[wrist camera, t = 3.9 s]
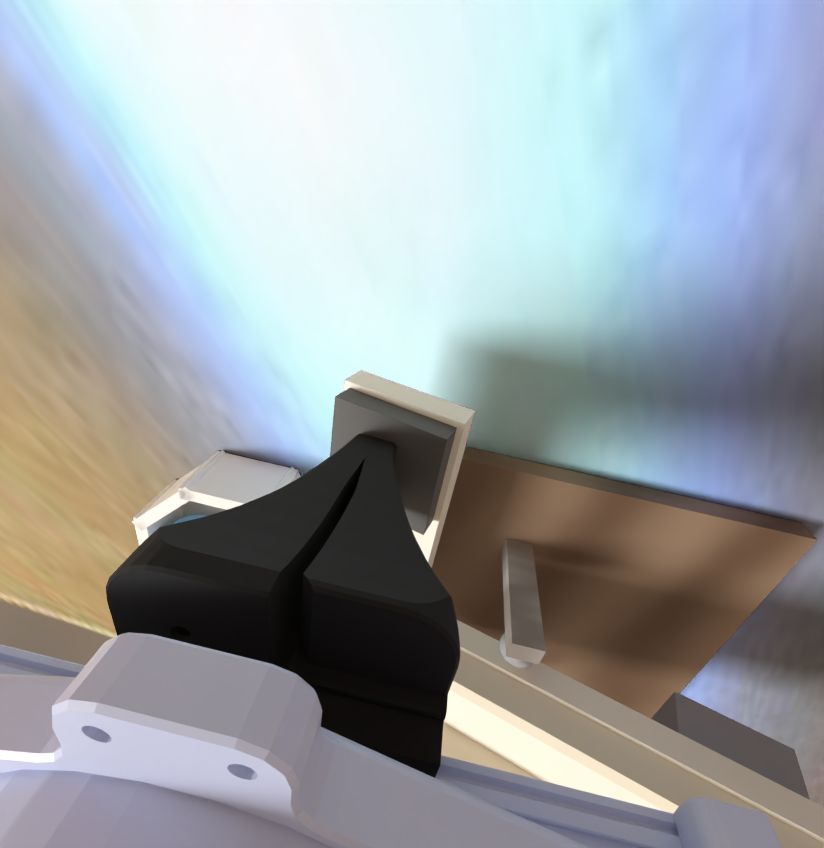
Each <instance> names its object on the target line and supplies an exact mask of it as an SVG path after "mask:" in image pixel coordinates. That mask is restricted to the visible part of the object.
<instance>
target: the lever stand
mask: <svg viewBox="0 0 824 848" xmlns="http://www.w3.org/2000/svg"><path fill="white" fill-rule="evenodd" d="M816 541H817V539H816V538H815V537H814V536H813V535H812V534H811V533H810V531H809V530H808V529H807V528H806V527H805V526H804V525H803V524H802V523H800V522H795V521H791V520H787V519H782V518H778V517H773V516H769V515H765V514H760V513H756V512H751V511H747V510H743V509H738V508H734V507H729V506H725V505H721V504H716V503H712V502H707V501H703V500H699V499H694V498H690V497H685V496H681V495H676V494H672V493H668V492H663V491H659V490H654V489H650V488H646V487H641V486H637V485H632V484H628V483H624V482H619V481H615V480H610V479H606V478H602V477H597V476H593V475H588V474H584V473H580V472H575V471H571V470H566V469H562V468H558V467H553V466H549V465H544V464H540V463H535V462H531V461H527V460H522V459H518V458H513V457H509V456H505V455H500V454H496V453H491V452H487V451H483V450H478V449H474V448H469V447H465V450H464V454H463V457H462V461H461V464H460V468H459V472H458V475H457V479H456V482H455V486H454V490H453V493H452V497H451V500H450V504H449V508H448V511H447V515H446V518H445V522H444V526H443V529H442V533H441V536H440V540H439V544H438V547H437V551H436V554H435V558H434V562H433V565H432V570H433V571H434V573H435V575H436V576H437V578H438V579H439V581H440V582H441V584H442V585H443V586H444V588H445V589H446V591H447V592H448V593H449V595H450V596H451V597H452V600H453V605H454V609H455V614H456V619H457V620H459V621H460V622H462V623H464V624H466V625H468V626H470V627H472V628H474V629H476V630H478V631H480V632H482V633H484V634H486V635H488V636H490V637H492V638H494V639H496V640H498V641H500V639H501V637H502V635H503V634H504V633H505V648H506V657H510V658H514V659H518V660H522V661H526V662H530V663H534V664H538V665H539V663H540V662H541V663H543V664H545V665H547V666H549V667H551V668H552V669H554V670H556V671H558V672H560V673H562V674H564V675H566V676H568V677H570V678H572V679H574V680H576V681H578V682H580V683H582V684H584V685H586V686H588V687H590V688H592V689H594V690H596V691H597V692H599V693H601V694H603V695H605V696H607V697H609V698H611V699H613V700H615V701H617V702H619V703H621V704H623V705H625V706H627V707H629V708H631V709H633V710H635V711H637V712H639V713H641V714H642V715H644V716H646V717H648V718H650V719H651V718H652V717H653V716H654V714H655V713H656V712H657V711H658V710H659V709H660V708H661V707H662V705H663V704H664V703H665V702H666V701H667V700H668V699H669V697H670V696H671V695H672V694H673V693H674V692H677V693H680V692H681V691H682V690H683V689H684V688H685V687H686V686H687V685H688V683H689V682H690V681H691V680H692V679H693V678H694V677H695V676H696V675H697V673H698V672H699V671H700V670H701V669H702V668H703V667H704V666H705V664H706V663H707V662H708V661H709V660H710V659H711V658H712V657H713V656H714V654H715V653H716V652H717V651H718V650H719V649H720V648H721V647H722V646H723V644H724V643H725V642H726V641H727V640H728V639H729V638H730V637H731V635H732V634H733V633H734V632H735V631H736V630H737V629H738V628H739V627H740V625H741V624H742V623H743V622H744V621H745V620H746V619H747V618H748V617H749V615H750V614H751V613H752V612H753V611H754V610H755V609H756V608H757V607H758V605H759V604H760V603H761V602H762V601H763V600H764V599H765V598H766V596H767V595H768V594H769V593H770V592H771V591H772V590H773V589H774V588H775V586H776V585H777V584H778V583H779V582H780V581H781V580H782V579H783V578H784V576H785V575H786V574H787V573H788V572H789V571H790V570H791V569H792V567H793V566H794V565H795V564H796V563H797V562H798V561H799V560H800V559H801V557H802V556H803V555H804V554H805V553H806V552H807V551H808V550H809V549H810V547H811V546H812V545H813V544H814V543H815V542H816Z"/></svg>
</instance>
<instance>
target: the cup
mask: <svg viewBox="0 0 824 848" xmlns="http://www.w3.org/2000/svg"><path fill="white" fill-rule="evenodd" d="M299 477H301V475H300V474H299V470H297V469H294V468H293V466H292V467H290V468H288V467H284V466H280V465H275V464H271V463H267V462H263V461H258V460H254V459H250V458H246V457H241V456H237V455H233V454H229V453H225V452H224V451H223V450H222V451H221V452H220V451H216V452H215V453H214V454H213V455H212V456H211V457H210V458H209V459H208V460H207V461H206V462H204V463H202V464H201V465H199V466H198V467H196V468H195V469H193V470H192V471H190V472H189V473H187V474H186V475H184V476H183V477H181V478H180V479H178V480H176V479H174V480H173V481H172V482H171V483H170V484H168V485H167V486H166V487H165V488H164V489H163V490H162V491H161V492H160V493H159V494H158V495H157V496H156V497H155V498H153V499H152V500H151V501H150V502H149V503H148V504H147V505H146V506H145V507H144V508H143V509H142V510H141V511H139V512H138V513H137V514H136V515H135V516H134V517H133V519H134V520H133V521H132V523H133V524H134V525H135V528H136V533H137V538H138V542H139V546H140V545H141V544H142V543H143V542H144V541H145V540H146V539H147V538H148V537H149V536H150V535H151V534H152V533H154V532H155V531H156V530H157V529H158V528H159V527H162V526H167V525H171V524H173V523H174V522H175V521H177V520H178V519H180V518H183V517H185V516H189V515H194V514H202V515H212V514H215V513H218V512H222V511H225V510H228V509H231V508H234V507H237V506H240V505H243V504H245V503H248V502H250V501H252V500H255V499H257V498H260V497H262V496H264V495H267V494H269V493H272V492H274V491H276V490H278V489H280V488H282V487H284V486H285V485H287V484H289V483H291V482H293V481H294V480H296V479H298V478H299Z"/></svg>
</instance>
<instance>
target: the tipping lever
mask: <svg viewBox="0 0 824 848" xmlns="http://www.w3.org/2000/svg"><path fill="white" fill-rule="evenodd" d="M474 414H475V411H474V410H471V409H469V408H466V407H463V406H460V405H457V404H455V403H452V402H449V401H446V400H443V399H440V398H438V397H435V396H432V395H429V394H426V393H424V392H421V391H418V390H415V389H412V388H410V387H407V386H404V385H401V384H398V383H395V382H393V381H390V380H387V379H384V378H381V377H379V376H376V375H373V374H370V373H367V372H365V371H362V370H361V371H359V372H358V373H356V374H354V375H352V376H351V377H349V378H347V379H346V380H345V383H344V392H342V393H340V394H339V395H337V396H336V397H335V406H334V417H333V429H332V441H331V452H330V456H332V455H333V454H334V453H336V452H337V451H338V450H339V449H341V448H342V447H343V446H344V445H346V444H347V443H348V442H349V441H350V440H351V439H353V438H354V437H355V436H356V435H358V434H364V435H369V436H373V437H377V438H380V439H383V440H387V441H390V442H393V443H395V445H396V446H397V451H396V472H397V478H398V485H399V490H400V494H401V498H402V502H403V506H404V509H405V512H406V515H407V518H408V521H409V524H410V526H411V529H412V531H413V534H414V536H415V538H416V540H417V542H418V544H419V546H420V548H421V550H422V552H423V554H424V556H425V558H426V560H427V562H428V563H429V565H430V567H431V568H432V565H433V562H434V558H435V554H436V551H437V547H438V544H439V540H440V536H441V533H442V529H443V526H444V522H445V518H446V515H447V511H448V508H449V504H450V500H451V497H452V493H453V490H454V486H455V482H456V479H457V475H458V472H459V468H460V464H461V461H462V457H463V454H464V450H465V446H466V443H467V439H468V435H469V432H470V428H471V425H472V421H473V417H474ZM457 624H458V630H459V639H460V661H459V667H458V669H457V672H456V674H455V677H454V680H453V682H452V685H451V687H450V690H449V693H448V700H447V713H446V717H445V720H444V723H443V737H442V751H441V755H442V756H446V757H450V758H454V759H458V760H462V761H466V762H470V763H474V764H478V765H482V766H486V767H490V768H494V769H498V770H502V771H506V772H510V773H514V774H518V775H522V776H526V777H530V778H534V779H538V780H542V781H545V782H549V783H553V784H557V785H561V786H565V787H569V788H573V789H577V790H581V791H585V792H589V793H593V794H597V795H601V796H605V797H609V798H613V799H617V800H621V801H625V802H629V803H633V804H637V805H641V806H645V807H649V808H653V809H657V810H661V811H665V812H669V813H673V814H674V812H675V811H676V809H677V808H678V807H679V805H680V804H682V803H683V802H684V801H686V800H688V799H691V798H708V799H713V800H717V801H721V802H725V803H729V804H733V805H737V806H741V807H745V808H749V809H753V810H757V811H761V812H763V813H764V814H766V815H767V816H768V818H769V820H770V822H771V824H772V826H773V829H774V831H775V833H776V835H777V837H778V840H779V842H780V844H781V846H782V848H824V807H823V806H821V805H819V804H817V803H815V802H813V801H811V800H810V798H809V795H808V792H807V789H806V786H805V782H804V779H803V776H802V773H801V770H800V766H799V763H798V760H797V757H796V754H795V750H794V749H792V748H790V747H788V746H786V745H784V744H782V743H780V742H777V741H775V740H773V739H771V738H769V737H767V736H765V735H763V734H761V733H759V732H757V731H755V730H753V729H751V728H749V727H747V726H745V725H743V724H740V723H738V722H736V721H734V720H732V719H730V718H728V717H726V716H724V715H722V714H720V713H718V712H716V711H714V710H712V709H710V708H708V707H706V706H703V705H701V704H699V703H697V702H695V701H693V700H691V699H689V698H687V697H685V696H683V695H681V694H679V693H677V692H674V693H673V694H672V695H671V696H670V697H669V699H668V700H667V701H666V702H665V703H664V704H663V705H662V707H661V708H660V709H659V710H658V711H657V712H656V713H655V714H654V716H653V717H652V718H651V719H650V718H648V717H646V716H644V715H642V714H641V713H639V712H637V711H635V710H633V709H631V708H629V707H627V706H625V705H623V704H621V703H619V702H617V701H615V700H613V699H611V698H609V697H607V696H605V695H603V694H601V693H599V692H597V691H596V690H594V689H592V688H590V687H588V686H586V685H584V684H582V683H580V682H578V681H576V680H574V679H572V678H570V677H568V676H566V675H564V674H562V673H560V672H558V671H556V670H554V669H552V668H551V667H549V666H547V665H545V664H543V663H541V662H540V663H539V665H538V664H534V663H530V662H526V661H522V660H518V659H514V658H510V657H506V648H505V633H504V634H503V635H502V637H501V639H500V641H498V640H496V639H494V638H492V637H490V636H488V635H486V634H484V633H482V632H480V631H478V630H476V629H474V628H472V627H470V626H468V625H466V624H464V623H462V622H460V621H459V620H457Z"/></svg>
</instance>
